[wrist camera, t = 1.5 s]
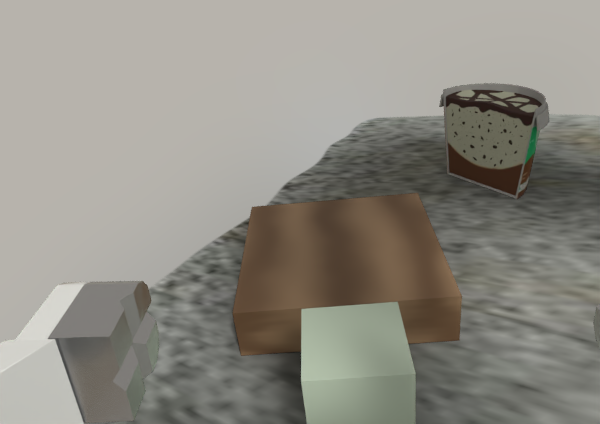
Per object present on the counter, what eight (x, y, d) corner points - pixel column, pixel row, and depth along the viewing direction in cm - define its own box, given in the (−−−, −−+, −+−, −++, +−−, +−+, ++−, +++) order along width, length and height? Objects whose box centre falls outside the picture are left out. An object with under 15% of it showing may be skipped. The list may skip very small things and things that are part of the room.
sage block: (399, 432, 32) (397, 301, 27) (414, 513, 28) (415, 373, 23) (317, 437, 32) (301, 309, 28) (319, 518, 28) (301, 381, 23)
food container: (563, 184, 58) (577, 94, 53) (529, 203, 55) (541, 110, 50) (471, 155, 67) (475, 76, 62) (437, 170, 64) (439, 88, 59)
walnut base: (417, 228, 53) (417, 192, 51) (459, 340, 38) (461, 296, 37) (257, 241, 53) (251, 207, 51) (241, 355, 39) (232, 313, 37)
